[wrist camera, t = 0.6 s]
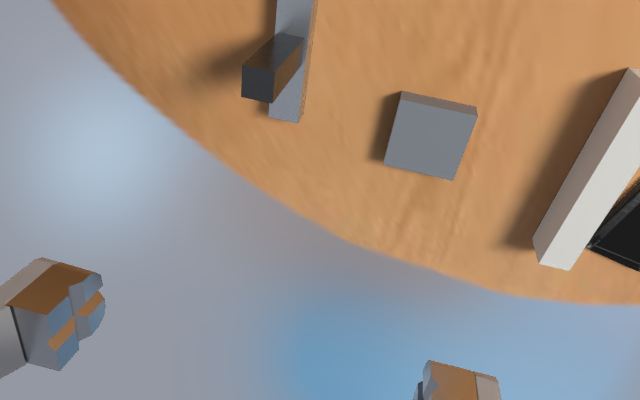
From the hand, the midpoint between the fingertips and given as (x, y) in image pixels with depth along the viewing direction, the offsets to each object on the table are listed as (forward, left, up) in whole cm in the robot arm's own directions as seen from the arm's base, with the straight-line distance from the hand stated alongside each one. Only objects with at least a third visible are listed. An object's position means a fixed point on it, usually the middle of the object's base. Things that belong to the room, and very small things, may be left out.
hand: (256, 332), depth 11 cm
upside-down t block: (+4, -7, -34) cm, 35 cm away
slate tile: (+10, +7, -35) cm, 37 cm away
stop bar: (+10, +22, -34) cm, 42 cm away
